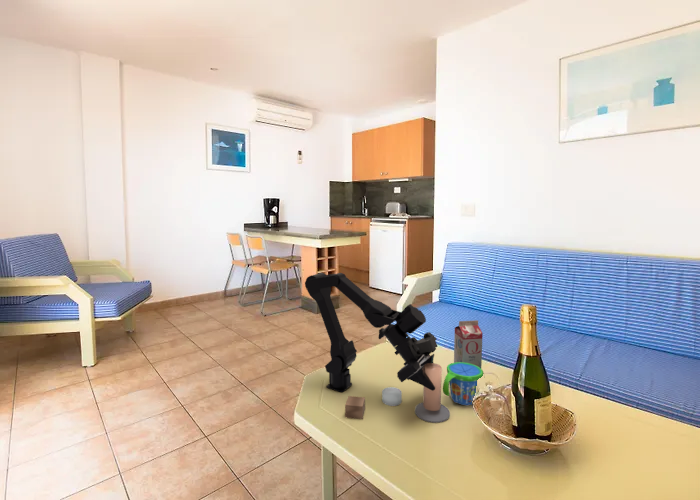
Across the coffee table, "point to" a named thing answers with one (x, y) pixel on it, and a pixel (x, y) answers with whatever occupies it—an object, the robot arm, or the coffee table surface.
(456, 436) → the coffee table surface
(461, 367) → the snack cup
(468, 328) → the juice carton
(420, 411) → the coaster
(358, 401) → the walnut block
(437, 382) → the pink rounded cylinder
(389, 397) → the white dome
